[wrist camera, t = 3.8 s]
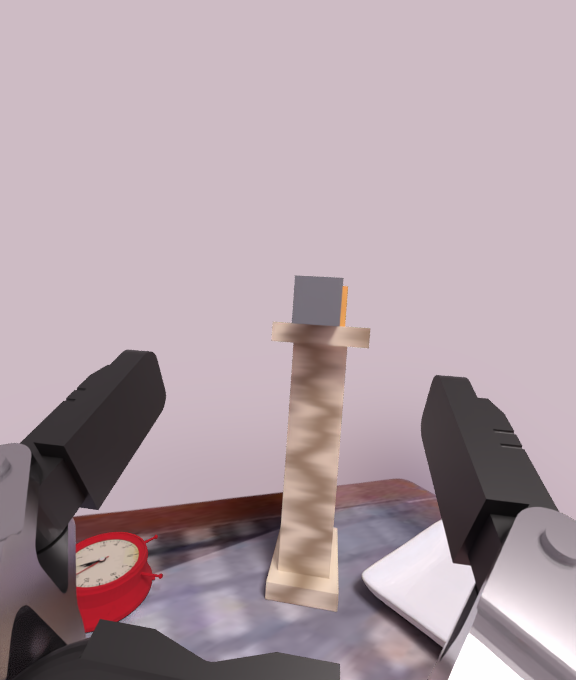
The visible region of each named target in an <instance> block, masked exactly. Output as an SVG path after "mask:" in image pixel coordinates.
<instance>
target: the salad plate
mask: <svg viewBox="0 0 576 680" xmlns="http://www.w3.org/2000/svg"><path fill="white" fill-rule="evenodd" d="M362 579H363V581H364V583H365V585H366V586H367V587H368V589H369V590H370V591H371V592H372V593H373V594H374V595H375V596H376V597H377V598H379V599H380V600H381V601H383V602H384V603H385V604H386V605H388V606H389V607H390V608H392V609H393V610H394V611H396V612H397V613H398V614H400V615H401V616H402V617H404V618H405V619H406V620H408V621H409V622H410V623H412V624H413V625H414V626H416V627H417V628H418V629H420V630H421V631H422V632H424V633H425V634H426V635H428V636H429V637H430V638H431V639H433V640H434V641H435V642H436V643H438V644H439V645H440V646H441V647H444V645H445V643H446V641H447V639H448V637H449V635H450V633H451V631H452V628H453V626H454V624H455V622H456V620H457V618H458V616H459V614H460V612H461V610H462V607H463V605H464V603H465V601H466V599H467V597H468V595H469V593H470V591H471V589H472V587H473V585H474V583H475V579H474V575H473V572H472V568H471V566H469V565H462V564H455V563H453V562H452V558H451V554H450V550H449V546H448V542H447V538H446V534H445V530H444V526H443V522H442V520H440V521H438V522H436V523H435V524H433V525H431V526H430V527H428V528H427V529H426V530H424V531H423V532H421V533H420V534H418V535H417V536H415V537H414V538H413V539H411V540H410V541H408V542H407V543H405V544H404V545H402V546H401V547H399V548H398V549H396V550H395V551H393V552H392V553H390V554H389V555H387V556H386V557H384V558H382V559H381V560H379V561H378V562H376V563H375V564H373V565H372V566H370V567H369V568H367V569H366V570H365V571H364V572H363V573H362Z"/></svg>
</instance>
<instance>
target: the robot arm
mask: <svg viewBox="0 0 576 680" xmlns="http://www.w3.org/2000/svg"><path fill="white" fill-rule="evenodd" d="M165 400H166V392H165V387H164V383H163V380H162V376H161V372H160V368H159V365H158V361H157V358H156V355H155V354H154V353H153V352H149V351H136V350H125V351H124V352H122V353H121V354H120V355H119V356H118V357H117V358H116V359H115V360H114V361H113V362H112V363H111V364H110V365H107V366H105V367H103V368H102V369H100V370H98V371H97V372H95V373H93V374H91V375H90V376H89V377H88V378H87V379H86V380H85V381H84V382H83V383H81V384H80V385H79V387H78V388H77V390H74V391H73V392H72V393H71V394H70V395H69V396H68V397H67V398H66V401H63V402H62V403H61V404H60V405H59V406H58V407H57V408H56V409H55V410H54V411H53V412H52V413H51V414H50V415H48V417H46V418H45V419H44V420H43V421H42V422H41V423H40V424H39V425H38V426H37V427H36V428H35V429H34V430H33V431H32V432H31V433H30V434H29V435H28V436H27V437H26V438H25V439H24V440H23V441H22V442H21V443H19V444H18V443H11V444H5V445H0V680H340V664H337V663H332V662H327V661H321V660H316V659H311V658H306V657H300V656H295V655H290V654H284V653H279V652H274V653H268V654H262V655H255V656H249V657H243V658H237V659H230V660H224V661H218V662H209V661H205V660H203V659H202V658H200V657H198V656H197V655H195V654H194V653H192V652H190V651H189V650H187V649H186V648H184V647H182V646H181V645H179V644H178V643H176V642H175V641H173V640H171V639H170V638H168V637H167V636H165V635H163V634H162V633H160V632H159V631H157V630H155V629H151V628H146V627H141V626H135V625H130V624H125V623H120V622H114V621H109V620H104V619H100V620H99V622H98V624H97V626H96V628H95V630H94V632H93V634H92V636H91V637H90V638H86V635H85V629H84V624H83V620H82V617H81V614H80V611H79V608H78V603H77V594H76V541H75V522H74V520H73V518H72V517H73V516H74V515H75V513H76V512H77V510H78V508H79V507H81V508H88V509H95V510H99V508H100V506H101V505H102V503H103V502H104V500H105V499H106V497H107V496H108V494H109V493H110V491H111V489H112V488H113V486H114V485H115V483H116V482H117V480H118V479H119V477H120V475H121V474H122V472H123V471H124V469H125V468H126V466H127V465H128V463H129V461H130V460H131V458H132V457H133V455H134V454H135V452H136V451H137V449H138V448H139V446H140V445H141V443H142V441H143V440H144V438H145V437H146V435H147V434H148V432H149V431H150V429H151V428H152V426H153V424H154V423H155V421H156V420H157V418H158V417H159V415H160V414H161V412H162V410H163V408H164V404H165ZM421 436H422V441H423V445H424V449H425V453H426V457H427V461H428V465H429V469H430V473H431V477H432V481H433V485H434V489H435V494H436V498H437V502H438V506H439V510H440V514H441V518H442V522H443V526H444V530H445V534H446V538H447V542H448V546H449V550H450V554H451V558H452V562H453V563H455V564H462V565H469V566H471V568H472V572H473V575H474V579H475V583H474V585H473V587H472V589H471V591H470V593H469V595H468V597H467V599H466V601H465V603H464V605H463V607H462V610H461V612H460V614H459V616H458V618H457V620H456V622H455V624H454V626H453V628H452V631H451V633H450V635H449V637H448V639H447V641H446V643H445V645H444V647H443V649H442V652H441V654H440V656H439V658H438V660H437V662H436V664H435V666H434V668H433V670H432V672H431V674H430V675H429V677H428V679H427V680H576V521H575V520H574V519H572V518H570V517H568V516H566V515H565V514H563V513H560V512H559V511H558V509H557V507H556V506H555V504H554V502H553V500H552V498H551V497H550V495H549V493H548V491H547V489H546V488H545V486H544V484H543V482H542V481H541V479H540V477H539V475H538V473H537V471H536V470H535V468H534V466H533V464H532V462H531V461H530V459H529V457H528V455H527V453H526V452H525V450H524V449H522V445H521V443H520V441H519V439H518V437H517V436H516V435H515V434H514V430H513V428H512V427H511V425H510V423H509V422H508V419H507V418H506V416H505V414H504V413H503V412H502V411H500V409H498V408H497V407H496V406H495V405H494V404H493V403H492V402H491V401H490V400H489V399H485V398H477V396H476V394H475V392H474V390H473V388H472V385H471V383H470V381H469V380H468V379H467V378H465V377H453V376H440V375H436V376H435V377H434V378H433V381H432V384H431V387H430V391H429V394H428V398H427V402H426V405H425V408H424V412H423V416H422V421H421Z"/></svg>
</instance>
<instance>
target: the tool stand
mask: <svg viewBox="0 0 576 680" xmlns="http://www.w3.org/2000/svg"><path fill="white" fill-rule="evenodd" d="M369 338H370V328H358V327H342V326H340V327H339V326H324V325H310V324H295V323H283V322H273V326H272V341H280V342H293V343H294V345H293V360H292V375H291V389H290V404H289V417H288V432H287V446H286V461H285V462H286V463H285V475H284V491H283V504H282V519H281V527H280V531H279V535H278V539H277V543H276V546H275V550H274V554H273V558H272V562H271V566H270V569H269V573H268V577H267V581H266V593H265V599H268V600H274V601H279V602H285V603H290V604H296V605H302V606H307V607H313V608H319V609H324V610H330V611H335V612H337V606H338V547H337V528H333V526H334V513H335V500H336V487H337V474H338V460H339V447H340V435H341V422H342V409H343V396H344V383H345V370H346V357H347V347H360V348H369Z"/></svg>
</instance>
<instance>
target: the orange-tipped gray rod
mask: <svg viewBox="0 0 576 680" xmlns="http://www.w3.org/2000/svg"><path fill="white" fill-rule="evenodd" d="M347 294H348V287H346V286H343V278H331V277H313V276H295V286H294V301H293V315H292V323H295V324H310V325H324V326H339V327H340V326H342V327H345V320H346V307H347Z"/></svg>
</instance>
